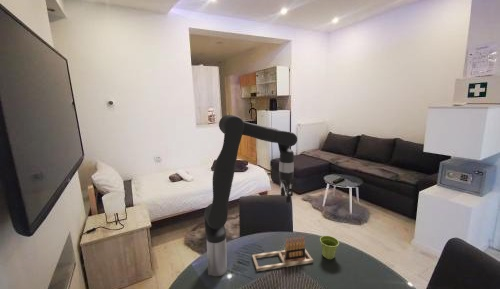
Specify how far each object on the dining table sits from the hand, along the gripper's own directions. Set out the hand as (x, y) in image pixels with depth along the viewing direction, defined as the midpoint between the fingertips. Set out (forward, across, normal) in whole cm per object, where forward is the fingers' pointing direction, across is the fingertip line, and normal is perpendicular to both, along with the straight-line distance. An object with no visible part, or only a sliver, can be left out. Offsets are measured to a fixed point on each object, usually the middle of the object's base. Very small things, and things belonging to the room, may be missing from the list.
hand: (285, 199), depth 124 cm
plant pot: (+29, +11, +21) cm, 37 cm away
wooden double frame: (+29, +9, -4) cm, 31 cm away
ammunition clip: (+29, +9, +3) cm, 30 cm away
